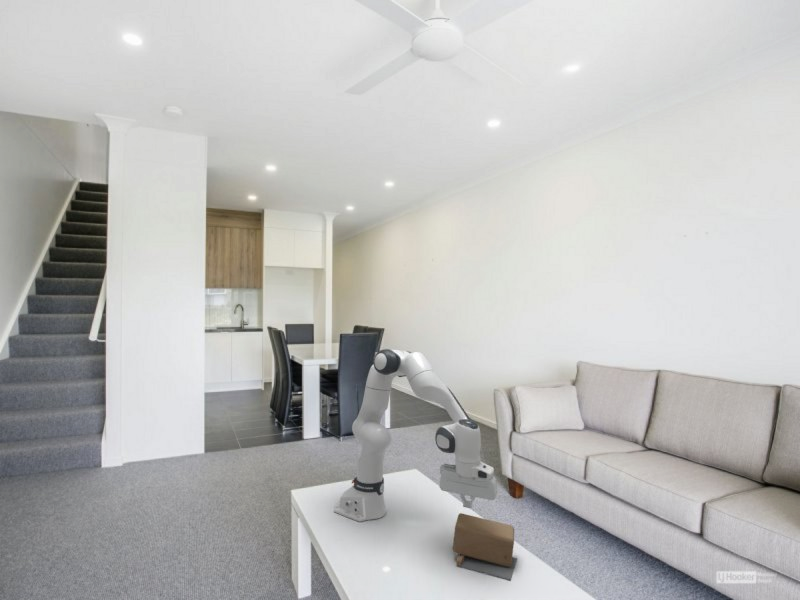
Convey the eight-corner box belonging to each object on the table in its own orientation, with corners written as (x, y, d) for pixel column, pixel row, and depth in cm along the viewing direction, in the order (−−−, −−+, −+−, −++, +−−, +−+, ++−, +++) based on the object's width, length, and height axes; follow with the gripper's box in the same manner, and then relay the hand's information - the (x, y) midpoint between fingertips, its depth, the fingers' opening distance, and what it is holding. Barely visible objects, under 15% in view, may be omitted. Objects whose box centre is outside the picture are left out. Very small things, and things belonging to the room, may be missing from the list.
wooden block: (451, 553, 149) (511, 569, 143) (455, 525, 148) (514, 539, 143) (455, 538, 158) (511, 552, 153) (458, 511, 158) (514, 524, 153)
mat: (456, 566, 145) (456, 560, 145) (466, 547, 157) (466, 541, 157) (510, 580, 138) (510, 574, 138) (517, 559, 150) (517, 553, 150)
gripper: (437, 465, 152) (436, 504, 152) (494, 475, 144) (494, 516, 144) (442, 460, 158) (442, 497, 158) (498, 469, 150) (498, 509, 149)
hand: (467, 507), depth 151 cm, fingers closed
